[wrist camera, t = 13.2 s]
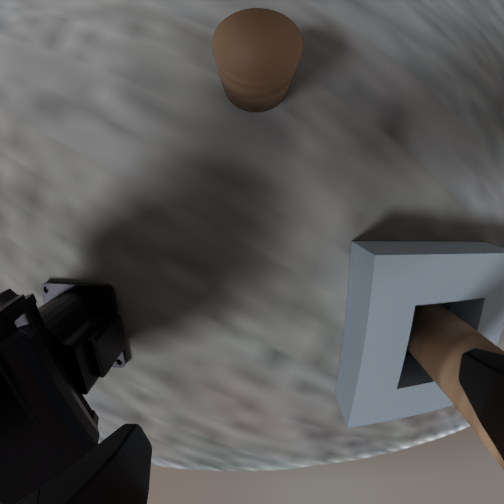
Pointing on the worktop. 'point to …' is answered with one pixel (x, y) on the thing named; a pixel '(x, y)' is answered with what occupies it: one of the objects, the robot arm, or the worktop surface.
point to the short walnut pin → (257, 57)
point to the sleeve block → (409, 320)
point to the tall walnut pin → (448, 357)
